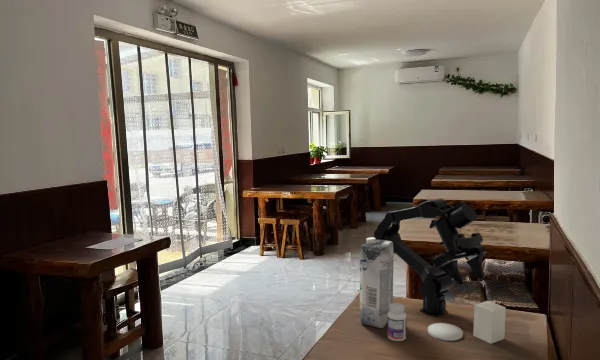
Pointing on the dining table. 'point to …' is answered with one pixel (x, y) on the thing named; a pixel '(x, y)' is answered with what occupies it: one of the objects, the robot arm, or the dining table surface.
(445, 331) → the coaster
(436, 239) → the dining table surface
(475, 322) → the cover
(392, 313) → the pill bottle
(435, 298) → the robot arm
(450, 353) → the dining table surface
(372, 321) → the juice carton
